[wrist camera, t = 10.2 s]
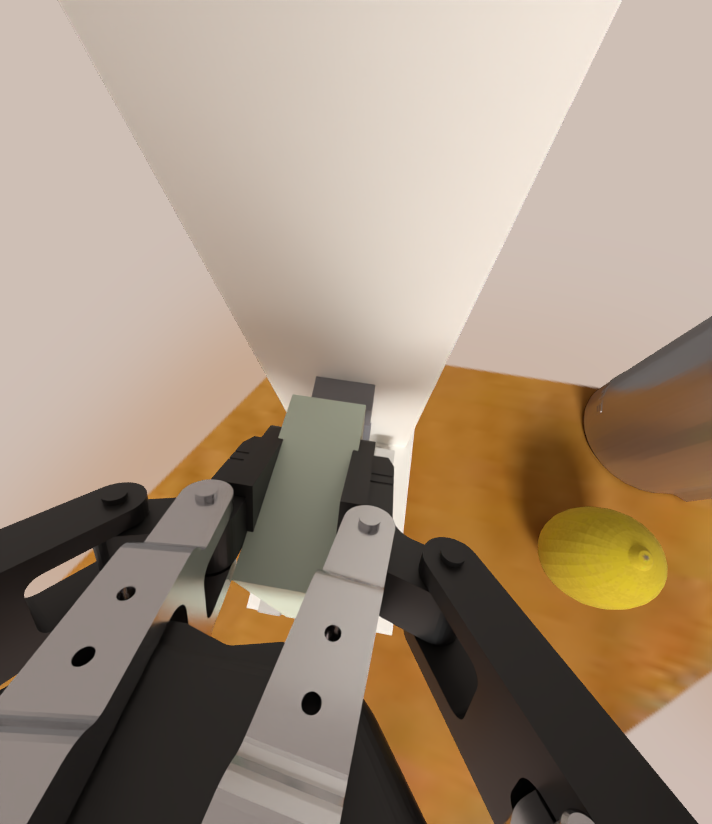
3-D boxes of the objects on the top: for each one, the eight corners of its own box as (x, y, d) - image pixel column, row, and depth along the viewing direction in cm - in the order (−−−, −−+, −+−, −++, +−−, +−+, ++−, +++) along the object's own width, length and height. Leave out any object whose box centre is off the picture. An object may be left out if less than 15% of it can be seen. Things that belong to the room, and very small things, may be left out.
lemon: (601, 526, 25) (707, 520, 17) (595, 610, 23) (709, 643, 15) (524, 501, 25) (592, 484, 18) (511, 581, 24) (581, 598, 16)
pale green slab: (336, 625, 18) (332, 598, 9) (286, 616, 18) (231, 579, 9) (356, 500, 21) (368, 389, 12) (315, 493, 22) (297, 379, 13)
